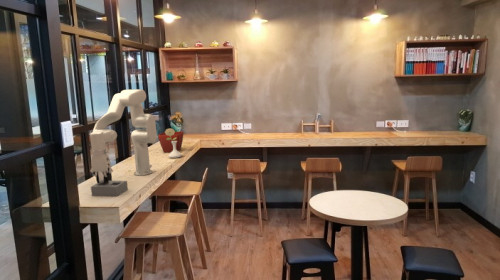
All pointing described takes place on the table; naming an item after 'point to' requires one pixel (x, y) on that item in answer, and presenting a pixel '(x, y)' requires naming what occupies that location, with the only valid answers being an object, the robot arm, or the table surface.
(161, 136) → the plant pot
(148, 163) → the robot arm
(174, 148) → the flower in vase
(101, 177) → the steel pin
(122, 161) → the table surface
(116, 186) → the hole block
